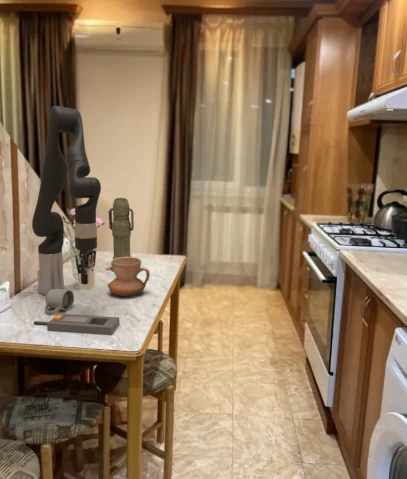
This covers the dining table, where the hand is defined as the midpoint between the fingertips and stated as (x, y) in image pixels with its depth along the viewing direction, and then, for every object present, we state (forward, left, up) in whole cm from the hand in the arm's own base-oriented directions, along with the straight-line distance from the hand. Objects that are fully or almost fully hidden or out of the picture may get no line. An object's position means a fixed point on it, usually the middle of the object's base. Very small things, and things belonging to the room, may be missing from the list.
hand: (86, 281), depth 165 cm
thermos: (-5, +58, -13) cm, 60 cm away
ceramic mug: (-13, +4, -13) cm, 19 cm away
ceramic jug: (+7, +26, -13) cm, 30 cm away
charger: (0, 0, -2) cm, 2 cm away
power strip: (-1, -10, -13) cm, 17 cm away
